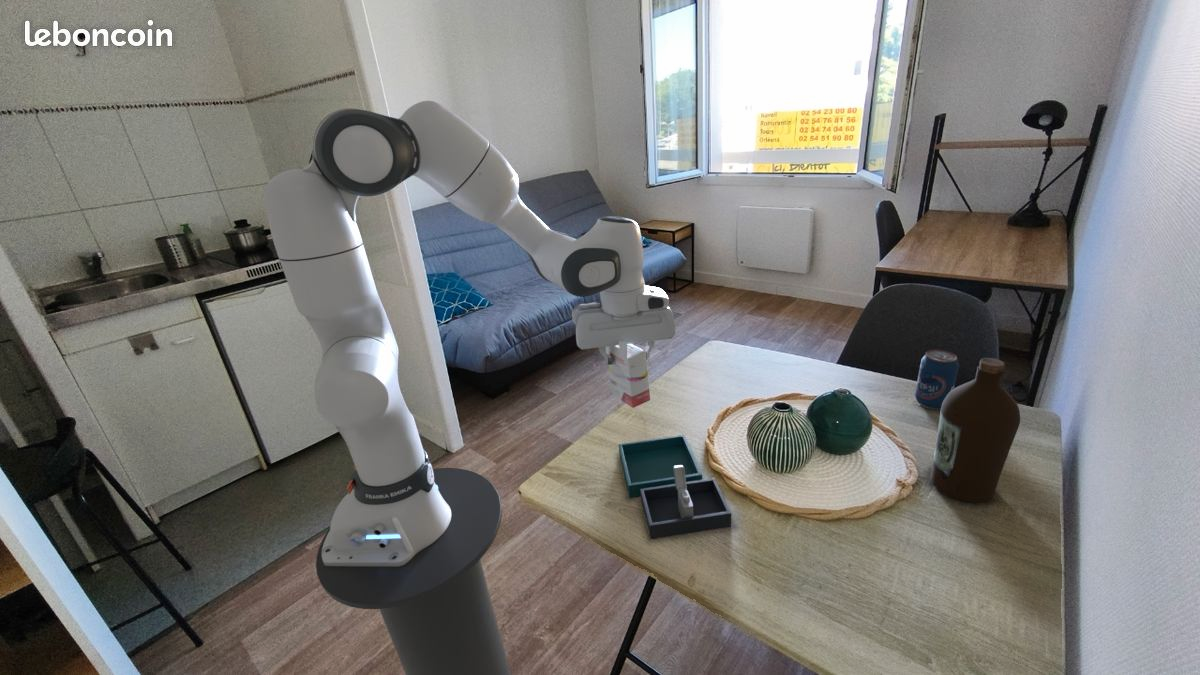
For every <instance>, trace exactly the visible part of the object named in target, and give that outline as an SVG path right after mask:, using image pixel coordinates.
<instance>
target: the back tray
mask: <svg viewBox="0 0 1200 675" xmlns="http://www.w3.org/2000/svg"><path fill="white" fill-rule="evenodd" d="M618 453H619V459H620V463H621V468H622V472H623V477H624V481H625V485H626V486H625V487H626V490H627V495H628V498H629V499H636V498H641V496H640V489H644V488H651V487H658V486H665V485H671V484H675V478H674V470H673V467H674V466H678V465H682V466H683V467H684V470H685V478H686V482H692V481H698V480H703V473H702V471H701V469H700V466H699V465H698V462H697V459H696V458H695V454H694V453H693V451H692V449H691V447H690V444H689V442H688V440H687V437H686V435H685V434H679V435H673V436H665V437H659V438H650V439H645V440H637V441H630V442H624V443H623V442H622V443H618Z"/></svg>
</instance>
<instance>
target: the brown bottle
mask: <svg viewBox="0 0 1200 675" xmlns="http://www.w3.org/2000/svg"><path fill="white" fill-rule="evenodd" d="M1005 366H1006V364H1005V362H1004V361H1002V360H1000V359H998V358H992V357H983V358H981V359H980V360H979V365H978V366H977V367H976V373H975V378H973V379H972V380H970V381H967V382H965V383H962V384H961V385H958V386H956V387H954V389H953V390H952V391H950V392H949V393H948V395H947V396H946V398H945V399H944V401H943V403H942V406H941V409H940V413H939V418H938V427H937V434H936V439H935V445H934V446H935V447H934V453H933V460H932V465H931V471H930V481H931V483H932V484H933V486H934V487H935V488H936V489H937V490H938V491H940V492H941V493H942V494H944V495H945V496H948V497H950V498H953V499H955V500H957V501H961V502H965V503H973V504H975V503H976V504H977V503H984V502H988V501H989V500H991V499H992V498H993V497H994V495H995V493H996V489H997V485H998V484H999V481H1000V479H1001V475H1002V472H1003V469H1004V466H1005V464H1006V461H1007V458H1008V455H1009V453H1010V450H1011V448H1012V445H1013V442H1014V439H1015V438H1016V435H1017V432H1018V430H1019V428H1020V424H1021V413H1020V412H1021V411H1020V408H1019V405H1018V403H1017V401H1016V400H1015V399H1014V397H1012V395H1011V394H1010V393H1009V392H1008V391H1007V390H1006V389H1005V388H1004V386H1002V384H1001V383H1002V379H1003V376H1004V373H1005V372H1004V369H1005Z"/></svg>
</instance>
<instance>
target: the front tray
mask: <svg viewBox="0 0 1200 675" xmlns="http://www.w3.org/2000/svg"><path fill="white" fill-rule="evenodd" d="M686 485H687V489H686V490H687V491H688V493H689V496H690V498H691V501H692V504H693V517H688V518H682V519H681V516H680V513H679V510H678V490H677V489H676V485H675V484H671V485H665V486H658V487H651V488H644V489H640V496H641V497H640V504H641V507H642V511H643V516H644V519H645V523H646V527H647V531H648V536H649V539H650V540H655V539H656V540H657V539H663V538H668V537H676V536H682V535H689V534H695V533H700V532H701V533H702V532H707V531H714V530H719V529H727V528H732V511H731V509H730V508H729V505H728V503H727V501H726V499H725V497H724V494H723V492H722V490H721V488H720V485H719V484H718V482H717V480H716V478H715V477H712V478H706V479H702V480H698V481H692V482H686Z"/></svg>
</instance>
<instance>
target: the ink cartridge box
mask: <svg viewBox="0 0 1200 675" xmlns="http://www.w3.org/2000/svg"><path fill="white" fill-rule="evenodd" d="M605 352H606V353H607V354H611V355H612V362H613V364H612V365H607V372H608V381H609V388H610V394H611V395H612V396H614V397H616V398H617V399H619V400H620V401H622V402H623V403H625V404H626V405H628V406H629V407H630V408H632V409H634V408H636V407H639V406H641V405H643V404H645V403H648V402H649V401H651V393H650V384H649V383H650V382H649V371H648V360H647V359H646V351H645V350H644V349H643V348H641V347H639V346H636V345H634V343H632V344H626V343H624V342H622V341H620V340H619V345H616V346H608V347H606V351H605Z"/></svg>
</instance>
